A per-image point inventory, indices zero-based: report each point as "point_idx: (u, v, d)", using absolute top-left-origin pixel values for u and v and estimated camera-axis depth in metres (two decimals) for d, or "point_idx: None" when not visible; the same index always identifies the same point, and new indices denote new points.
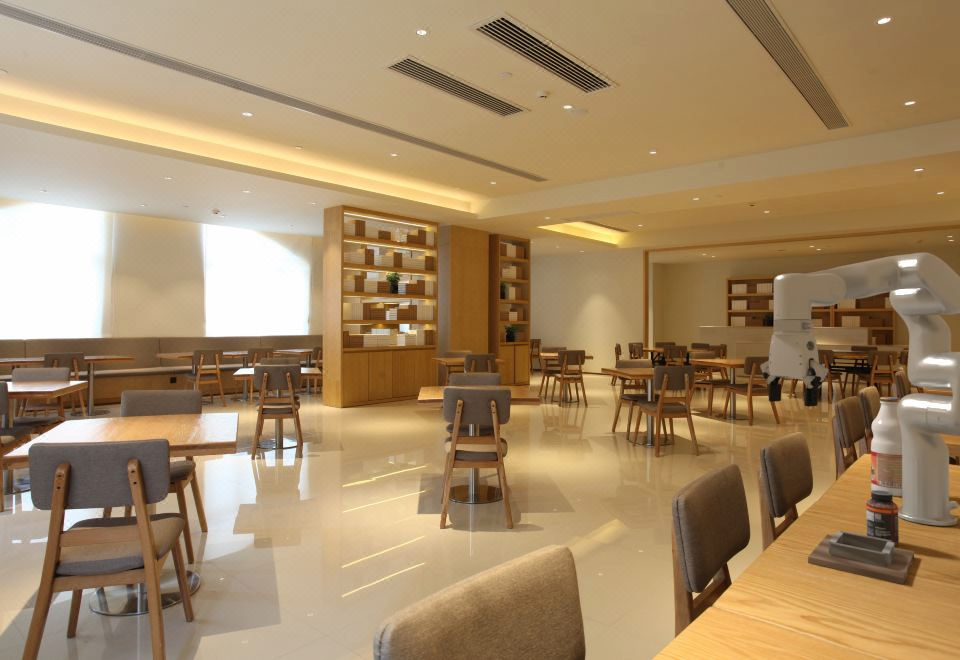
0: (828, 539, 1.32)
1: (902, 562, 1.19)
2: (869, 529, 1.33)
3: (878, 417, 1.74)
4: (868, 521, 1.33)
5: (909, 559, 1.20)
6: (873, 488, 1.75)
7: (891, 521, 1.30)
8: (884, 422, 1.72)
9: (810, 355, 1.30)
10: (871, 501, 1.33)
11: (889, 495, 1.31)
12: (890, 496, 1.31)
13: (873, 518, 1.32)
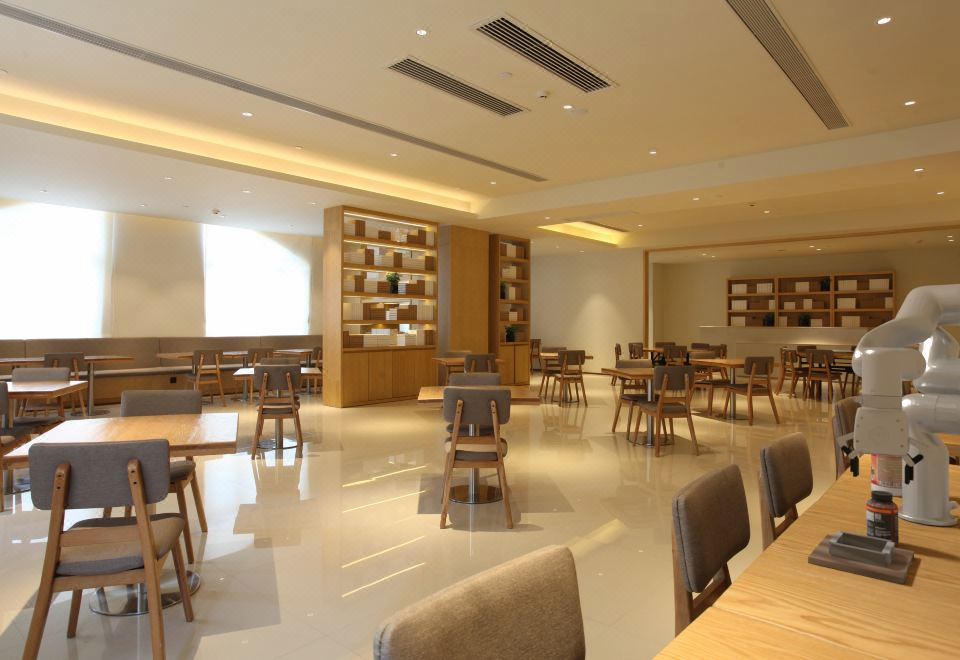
0: (828, 539, 1.32)
1: (902, 562, 1.19)
2: (869, 529, 1.33)
3: None
4: (868, 521, 1.33)
5: (909, 559, 1.20)
6: (873, 488, 1.75)
7: (891, 521, 1.30)
8: None
9: None
10: (871, 501, 1.33)
11: (889, 495, 1.31)
12: (890, 496, 1.31)
13: (873, 518, 1.32)
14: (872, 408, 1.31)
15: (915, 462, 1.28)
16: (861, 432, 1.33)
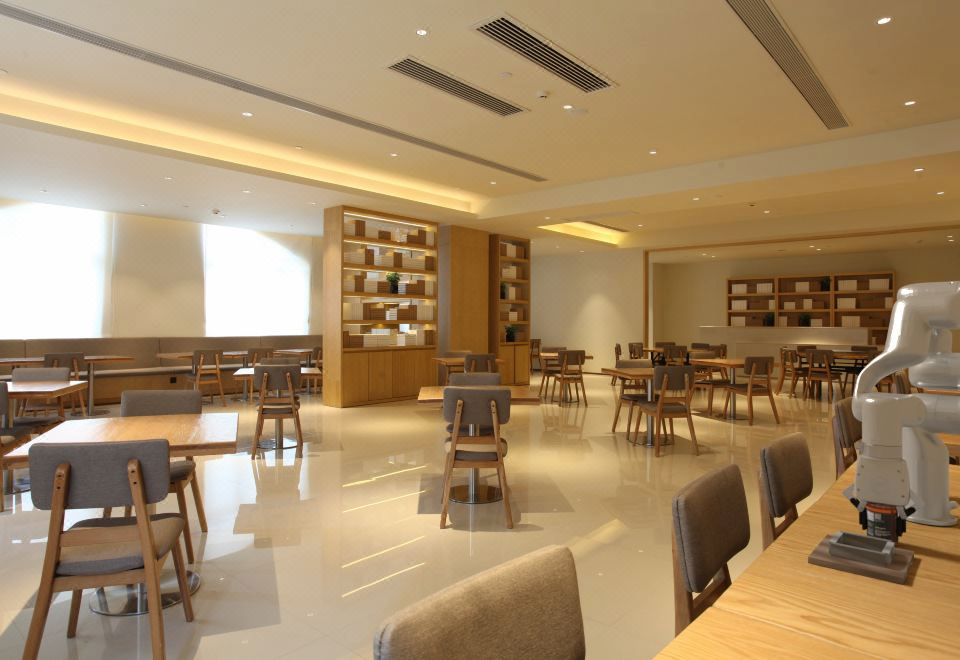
0: (828, 539, 1.32)
1: (902, 562, 1.19)
2: (869, 529, 1.33)
3: None
4: (868, 521, 1.33)
5: (909, 559, 1.20)
6: None
7: (891, 521, 1.30)
8: None
9: None
10: None
11: None
12: None
13: (873, 518, 1.32)
14: (873, 458, 1.31)
15: (907, 515, 1.29)
16: (862, 481, 1.33)
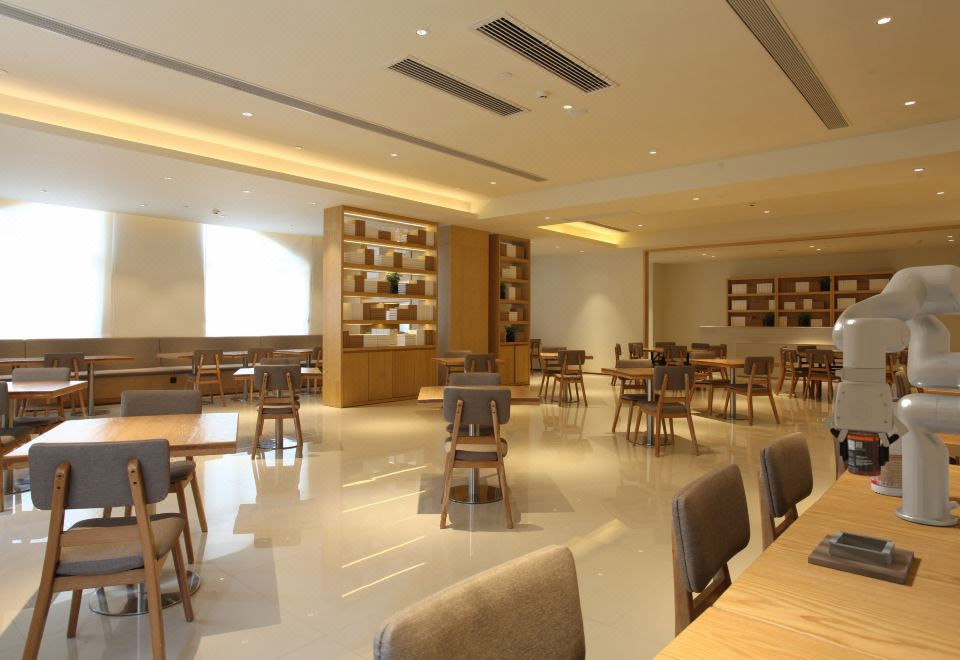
0: (828, 539, 1.32)
1: (902, 562, 1.19)
2: (850, 459, 1.24)
3: None
4: (849, 451, 1.25)
5: (909, 559, 1.20)
6: (873, 488, 1.75)
7: (873, 449, 1.21)
8: None
9: None
10: None
11: None
12: None
13: (854, 447, 1.23)
14: (854, 382, 1.23)
15: (890, 442, 1.21)
16: (842, 408, 1.25)
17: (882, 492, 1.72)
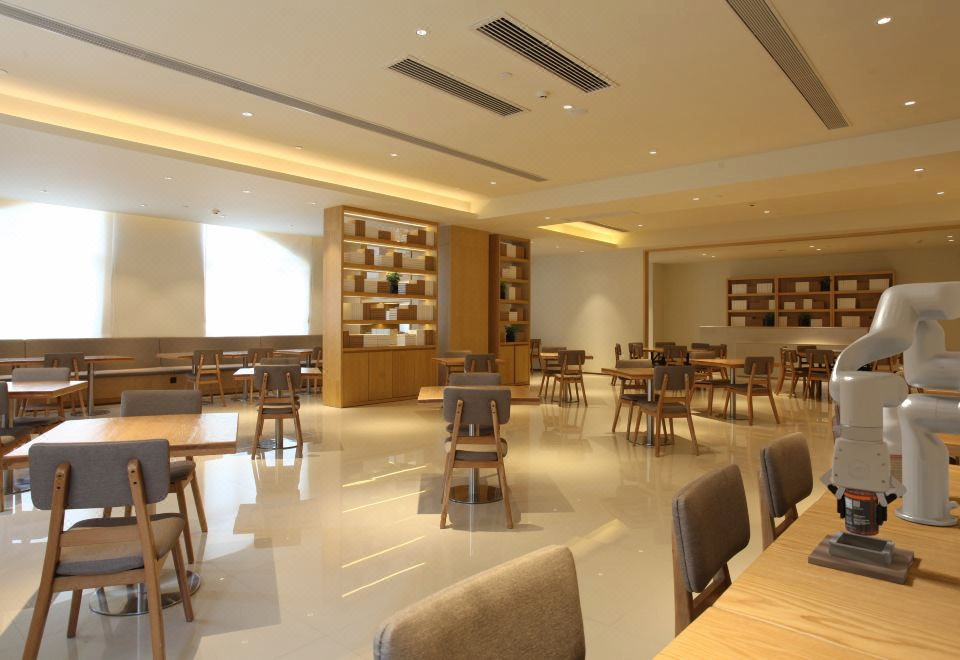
0: (828, 539, 1.32)
1: (902, 562, 1.19)
2: (847, 517, 1.23)
3: None
4: (846, 509, 1.23)
5: (909, 559, 1.20)
6: None
7: (871, 508, 1.20)
8: (884, 422, 1.72)
9: None
10: None
11: None
12: None
13: (852, 505, 1.22)
14: (851, 440, 1.21)
15: (888, 502, 1.19)
16: (840, 466, 1.23)
17: None
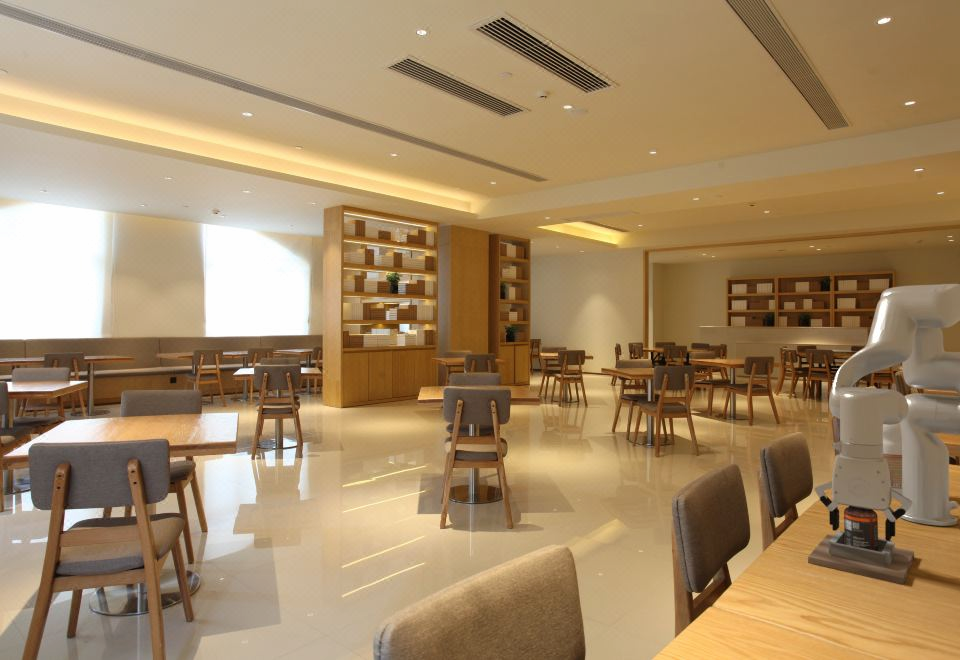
0: (828, 539, 1.32)
1: (902, 562, 1.19)
2: (847, 539, 1.23)
3: None
4: (846, 530, 1.23)
5: (909, 559, 1.20)
6: None
7: (870, 531, 1.20)
8: None
9: None
10: (849, 509, 1.23)
11: None
12: None
13: (851, 527, 1.22)
14: (851, 457, 1.21)
15: (896, 517, 1.18)
16: (839, 483, 1.23)
17: None
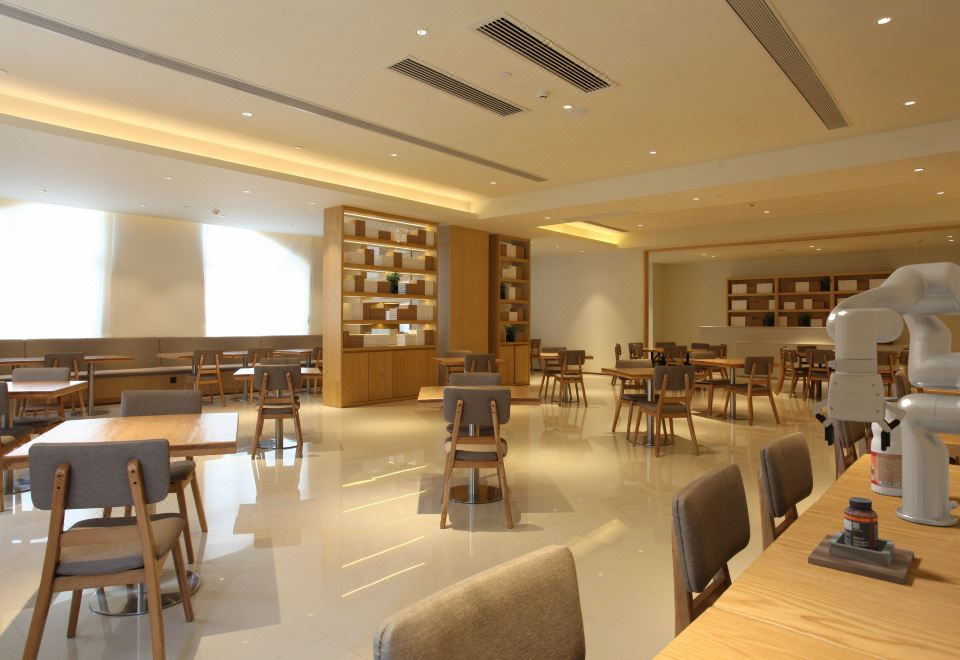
0: (828, 539, 1.32)
1: (902, 562, 1.19)
2: (847, 539, 1.23)
3: None
4: (846, 530, 1.23)
5: (909, 559, 1.20)
6: (873, 488, 1.75)
7: (870, 531, 1.20)
8: None
9: None
10: (849, 509, 1.23)
11: (868, 502, 1.21)
12: (869, 503, 1.21)
13: (851, 527, 1.22)
14: (846, 373, 1.24)
15: (891, 427, 1.21)
16: (835, 399, 1.26)
17: (882, 492, 1.72)
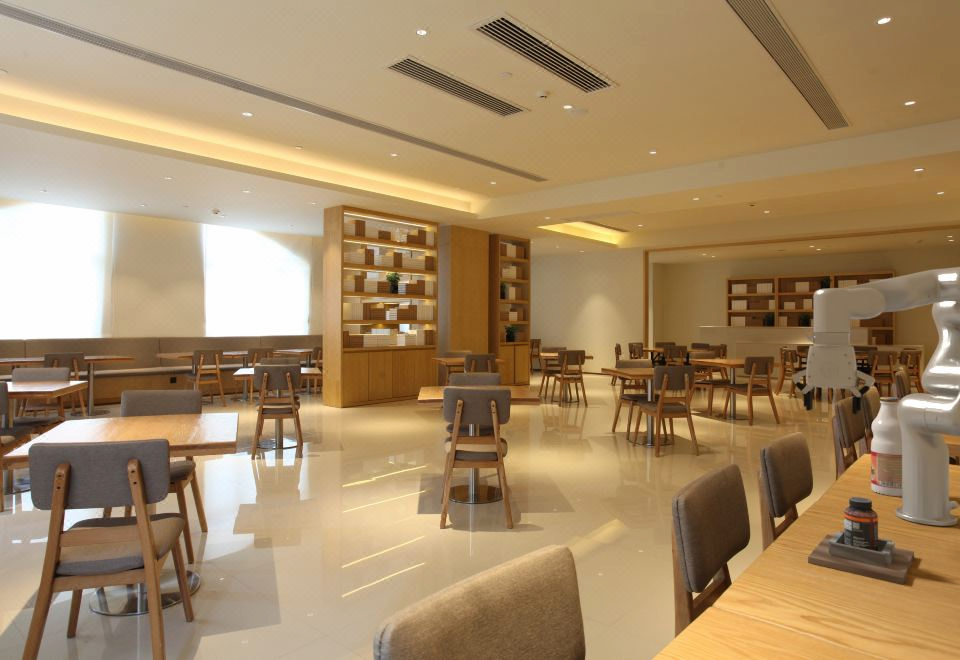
0: (828, 539, 1.32)
1: (902, 562, 1.19)
2: (847, 539, 1.23)
3: (878, 417, 1.74)
4: (846, 530, 1.23)
5: (909, 559, 1.20)
6: (873, 488, 1.75)
7: (870, 531, 1.20)
8: (883, 422, 1.72)
9: None
10: (849, 509, 1.23)
11: (868, 502, 1.21)
12: (869, 503, 1.21)
13: (851, 527, 1.22)
14: (822, 344, 1.40)
15: (861, 393, 1.37)
16: (813, 368, 1.42)
17: (882, 492, 1.72)
